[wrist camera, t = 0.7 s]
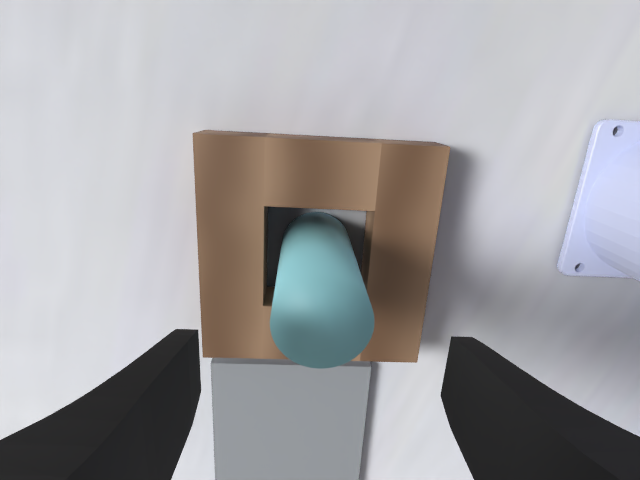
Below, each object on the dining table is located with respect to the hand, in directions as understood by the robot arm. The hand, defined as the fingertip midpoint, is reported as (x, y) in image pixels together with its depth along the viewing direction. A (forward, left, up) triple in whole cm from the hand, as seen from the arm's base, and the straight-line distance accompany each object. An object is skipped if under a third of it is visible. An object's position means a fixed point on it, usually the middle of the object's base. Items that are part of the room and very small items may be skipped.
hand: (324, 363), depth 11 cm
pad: (+1, +12, -10) cm, 16 cm away
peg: (0, 0, -10) cm, 10 cm away
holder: (0, 0, -10) cm, 10 cm away
